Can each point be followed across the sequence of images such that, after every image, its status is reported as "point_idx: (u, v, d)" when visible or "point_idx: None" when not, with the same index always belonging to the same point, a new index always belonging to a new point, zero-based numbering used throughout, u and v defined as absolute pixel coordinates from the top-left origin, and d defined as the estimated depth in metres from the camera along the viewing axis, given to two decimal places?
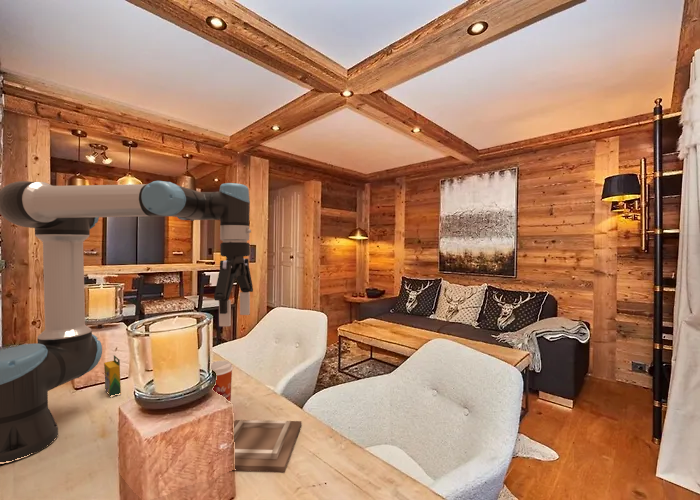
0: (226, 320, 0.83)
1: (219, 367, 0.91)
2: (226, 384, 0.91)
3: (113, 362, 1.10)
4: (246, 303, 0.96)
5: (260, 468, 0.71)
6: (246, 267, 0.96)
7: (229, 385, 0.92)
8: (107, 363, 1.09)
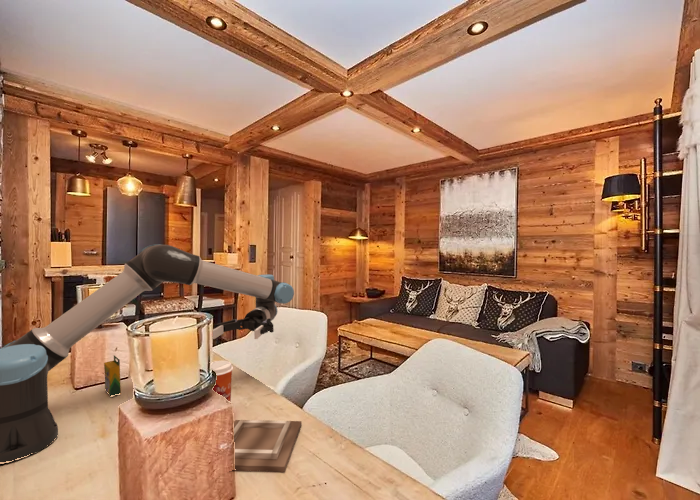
0: (258, 335, 1.05)
1: (219, 367, 0.91)
2: (226, 384, 0.91)
3: (113, 362, 1.10)
4: (219, 333, 1.07)
5: (260, 468, 0.71)
6: None
7: (229, 385, 0.92)
8: (107, 363, 1.09)
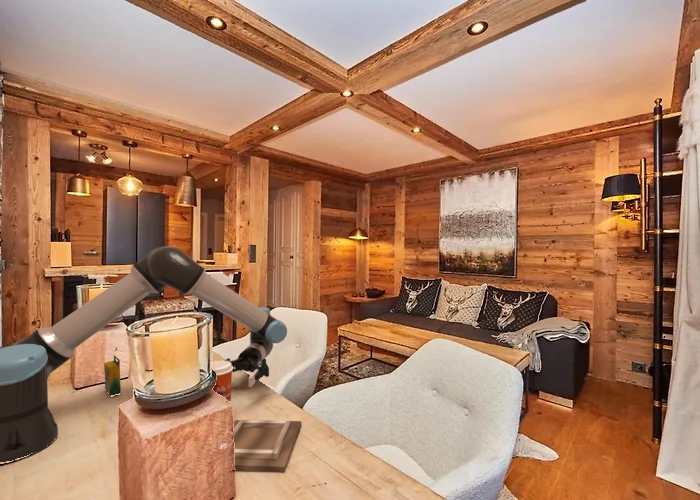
0: (252, 382, 0.98)
1: (219, 367, 0.91)
2: (226, 384, 0.91)
3: (113, 362, 1.10)
4: None
5: (260, 468, 0.71)
6: None
7: (229, 385, 0.92)
8: (107, 363, 1.09)
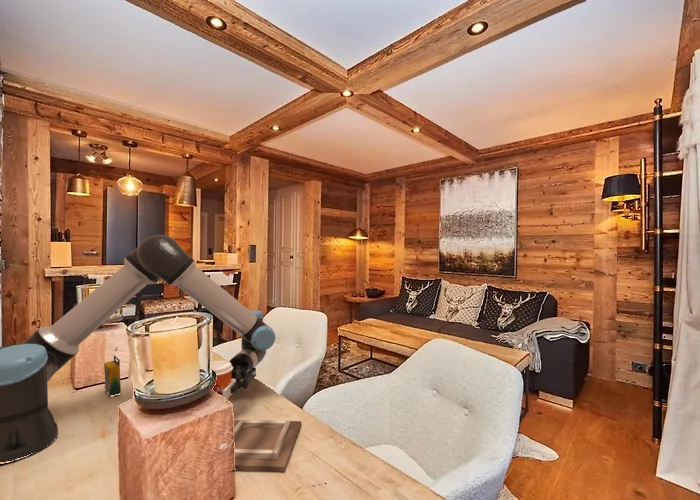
0: (227, 395, 0.89)
1: (219, 367, 0.90)
2: (225, 383, 0.91)
3: (113, 362, 1.10)
4: None
5: (260, 468, 0.71)
6: None
7: None
8: (107, 363, 1.09)
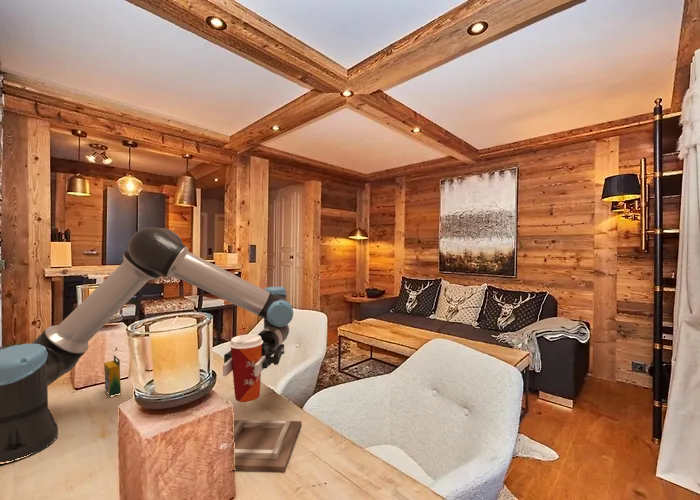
0: (259, 370, 0.81)
1: (249, 340, 0.82)
2: (256, 358, 0.82)
3: (113, 362, 1.10)
4: (231, 368, 0.83)
5: (260, 468, 0.71)
6: None
7: None
8: (107, 363, 1.09)
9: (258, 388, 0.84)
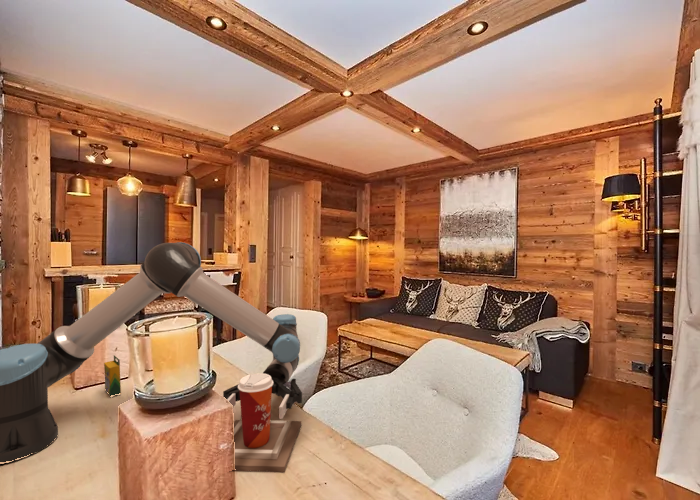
0: (284, 411, 0.78)
1: (258, 382, 0.78)
2: (266, 401, 0.78)
3: (113, 362, 1.10)
4: None
5: (260, 468, 0.71)
6: None
7: (269, 402, 0.79)
8: (107, 363, 1.09)
9: (268, 432, 0.79)
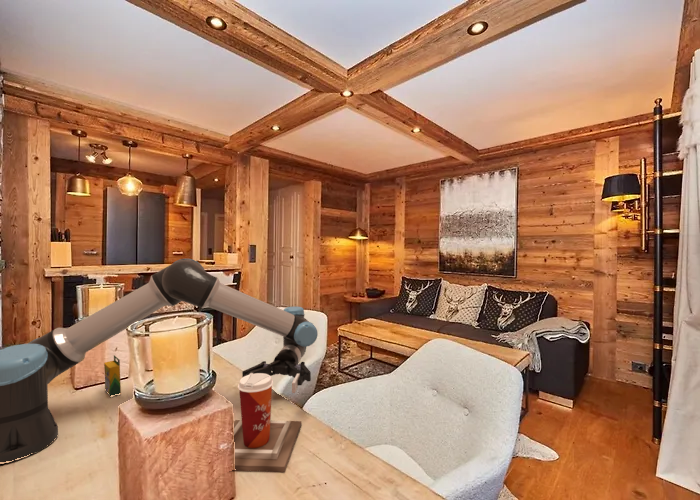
0: (295, 387, 0.91)
1: (258, 382, 0.78)
2: (266, 401, 0.78)
3: (113, 362, 1.10)
4: None
5: (260, 468, 0.71)
6: None
7: (269, 402, 0.79)
8: (107, 363, 1.09)
9: (268, 432, 0.79)
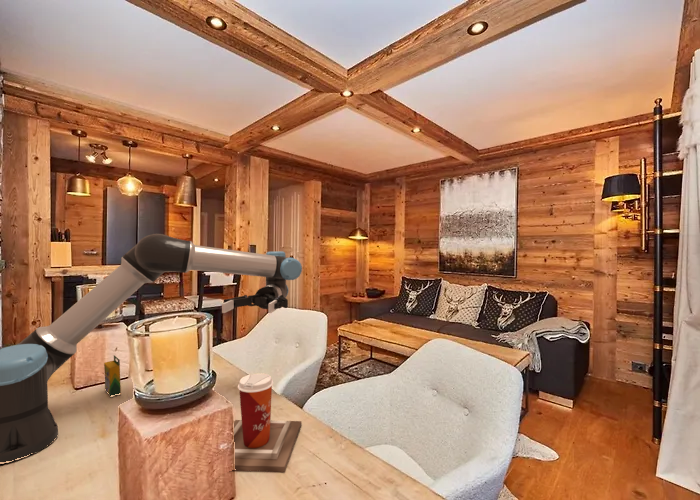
0: (272, 309, 0.97)
1: (258, 382, 0.78)
2: (266, 401, 0.78)
3: (113, 362, 1.10)
4: (229, 308, 0.99)
5: (260, 468, 0.71)
6: None
7: (269, 402, 0.79)
8: (107, 363, 1.09)
9: (268, 432, 0.79)
